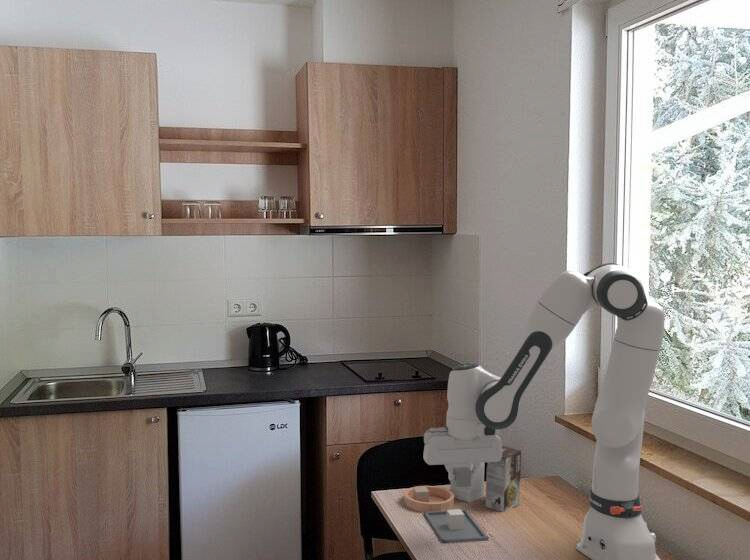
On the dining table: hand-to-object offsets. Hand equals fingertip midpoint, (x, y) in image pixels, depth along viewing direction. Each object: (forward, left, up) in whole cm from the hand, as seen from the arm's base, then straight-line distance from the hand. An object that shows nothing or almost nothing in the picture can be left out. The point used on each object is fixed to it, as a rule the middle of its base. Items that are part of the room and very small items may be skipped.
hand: (461, 479), depth 203 cm
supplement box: (+26, -10, -15) cm, 31 cm away
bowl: (+22, +2, -15) cm, 26 cm away
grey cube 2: (0, 0, -1) cm, 1 cm away
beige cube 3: (+5, 0, -15) cm, 15 cm away
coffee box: (+18, -18, -15) cm, 29 cm away
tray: (+5, 0, -15) cm, 16 cm away
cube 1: (+22, +5, -14) cm, 26 cm away
